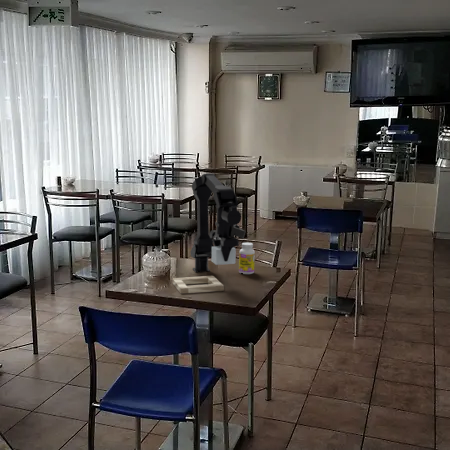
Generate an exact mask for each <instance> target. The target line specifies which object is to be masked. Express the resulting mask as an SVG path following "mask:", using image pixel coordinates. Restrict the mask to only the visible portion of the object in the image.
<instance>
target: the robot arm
mask: <svg viewBox="0 0 450 450" xmlns="http://www.w3.org/2000/svg"><path fill="white" fill-rule="evenodd" d="M191 189H192V193H193V194H192V195H193V196H194V198H195V199H196V205H197V206H196V212H197V213H196V214H197V217H196V218H197V219H196V220H197V221H196V222H197V233H196V236H195V237H194V239H193V245H192V247H191V250H190V257H191V258H193V259H194V267H192V270H193V271H194V272H195V273H210V272H211V269H209V258H212V246H220V249H221V252H222V255H223V258H224V261H228V258H229V254H230V251H231V249H232V248H233V247H234V248H236V247H238V246H239V244H240V241H239V239H238V238H240V239H242V240H243V239H244V238H245V235H246V230H244V229H242V228H240V225H239V223H240V222H241V220H242V214H241V212H240V211H239V210H237V208H238V207H239V201H238V197H237V196H236V195H237V194H236V193H235V190H234V189H233V188H232V187H229V186H226V185H224V184H223V183H222V182H221V181H220V179H218V178H217V177H216V175H215V173H203V174H201V175H200V176H198V177H197V178H195V179H194V180H193V182H192V183H191ZM212 195H213V200H214V201H215V204H216V205H215V207H216V221H214V224H215V226H216V230H215V229H214V230H210V232H209V227H210V226H209V200H210V198H211V197H212ZM237 237H238V238H237Z"/></svg>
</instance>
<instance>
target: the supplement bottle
mask: <svg viewBox="0 0 450 450" xmlns="http://www.w3.org/2000/svg"><path fill="white" fill-rule="evenodd" d="M241 247H242V248H241V249H239V252H238V253H239V254H238V255H239V256H238V257H239V258H238V272H239V274H241V273H243V275H252V274H254V273H255V261H256V259H255V258H256V257H255V254H256V252H255V250H254V248H253V247H254V244H253V243H252V242H242V243H241Z"/></svg>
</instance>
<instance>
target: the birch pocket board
mask: <svg viewBox="0 0 450 450" xmlns="http://www.w3.org/2000/svg"><path fill="white" fill-rule="evenodd" d="M171 281H172V285H173V287H174V288H176V290H177V291H178V292H179V294H194V293H209V292H222V291H223V292H224V289H225V288H224V287H225V286H224V284H223V283H222V282H220V281H219V280H218V279H217V278H216V277H215V276H214V275H202V276H190V277H189V276H187V277H174V278H172V280H171Z"/></svg>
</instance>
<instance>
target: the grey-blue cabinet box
mask: <svg viewBox="0 0 450 450" xmlns="http://www.w3.org/2000/svg"><path fill="white" fill-rule="evenodd" d="M236 251H237V249H236V247H233V248H232V249H231V251H230V254H229V258H228V261H224V258H223V255H222V252H221V249H220V246H215V245H213V246H212V257H211V262H212V263H213V264H214V265H215V266H221V265H234V264H236V260H237V259H236V256H237V252H236Z"/></svg>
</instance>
